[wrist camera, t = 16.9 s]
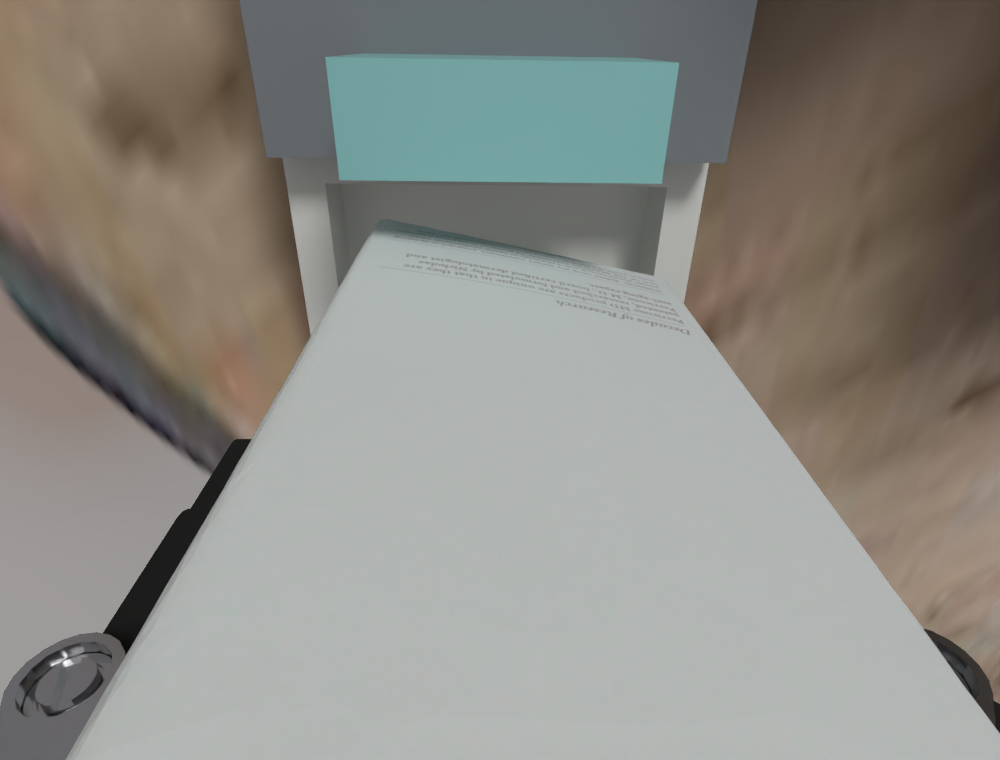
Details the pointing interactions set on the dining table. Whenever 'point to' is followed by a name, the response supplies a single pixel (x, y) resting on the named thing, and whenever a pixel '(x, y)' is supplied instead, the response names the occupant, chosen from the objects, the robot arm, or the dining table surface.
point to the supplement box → (524, 549)
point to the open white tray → (496, 220)
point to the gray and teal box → (499, 86)
